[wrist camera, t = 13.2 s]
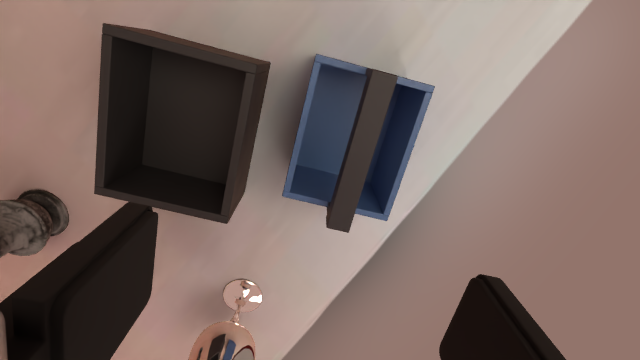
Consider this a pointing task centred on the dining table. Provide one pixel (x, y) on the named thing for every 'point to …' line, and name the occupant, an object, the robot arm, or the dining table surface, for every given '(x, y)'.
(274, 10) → the dining table surface
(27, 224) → the grey chess piece
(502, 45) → the dining table surface
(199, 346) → the wineglass
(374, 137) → the blue tote
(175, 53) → the black tote
